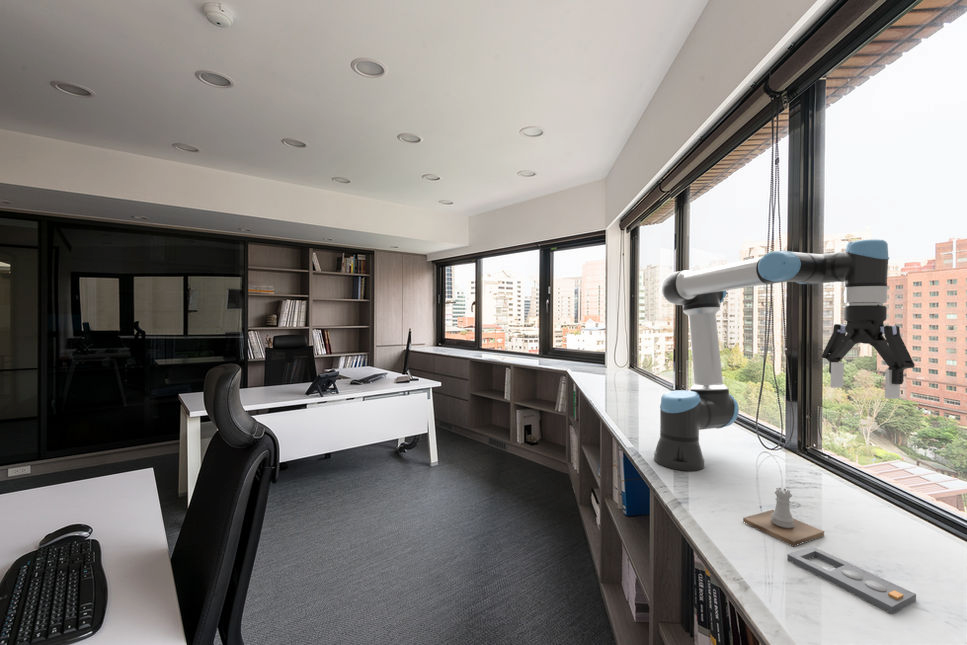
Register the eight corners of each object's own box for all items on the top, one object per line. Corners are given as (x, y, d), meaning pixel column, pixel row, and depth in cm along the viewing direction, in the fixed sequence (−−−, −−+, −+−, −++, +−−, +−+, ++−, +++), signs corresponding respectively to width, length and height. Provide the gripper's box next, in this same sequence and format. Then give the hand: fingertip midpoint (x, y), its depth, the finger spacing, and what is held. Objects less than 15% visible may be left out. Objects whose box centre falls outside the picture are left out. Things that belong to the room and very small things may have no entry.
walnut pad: (743, 522, 97) (743, 517, 97) (772, 513, 101) (772, 509, 101) (793, 546, 87) (793, 541, 87) (823, 535, 91) (824, 531, 91)
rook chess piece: (788, 531, 91) (788, 495, 91) (766, 522, 95) (767, 488, 95) (798, 526, 93) (799, 491, 93) (777, 517, 97) (777, 484, 97)
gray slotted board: (787, 560, 82) (787, 552, 82) (811, 551, 85) (811, 543, 85) (891, 613, 67) (892, 604, 67) (915, 600, 71) (916, 591, 71)
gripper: (940, 303, 86) (936, 403, 87) (832, 306, 111) (830, 383, 112) (906, 303, 86) (903, 403, 86) (806, 305, 111) (804, 383, 111)
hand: (862, 392), depth 99 cm, fingers open, 13 cm apart
